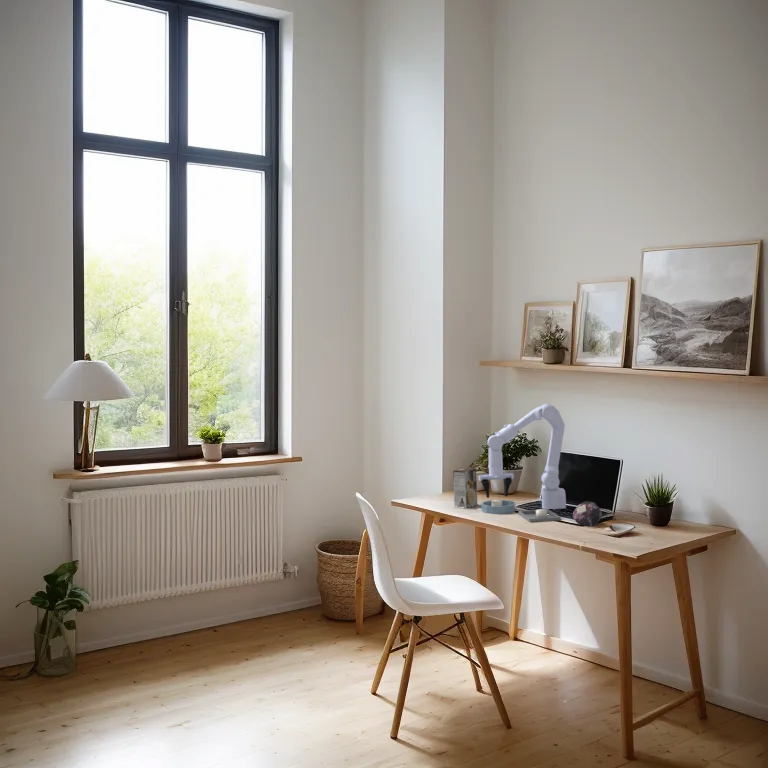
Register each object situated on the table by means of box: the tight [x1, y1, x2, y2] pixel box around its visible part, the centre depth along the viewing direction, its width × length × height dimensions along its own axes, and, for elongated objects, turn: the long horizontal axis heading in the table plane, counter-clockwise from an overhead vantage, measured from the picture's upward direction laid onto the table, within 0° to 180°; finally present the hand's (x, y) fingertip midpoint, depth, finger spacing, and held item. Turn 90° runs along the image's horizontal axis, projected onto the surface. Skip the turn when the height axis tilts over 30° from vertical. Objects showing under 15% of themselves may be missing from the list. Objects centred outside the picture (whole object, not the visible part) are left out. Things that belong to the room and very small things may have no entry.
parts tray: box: [518, 509, 561, 523], centre depth 343 cm, size 12×15×2 cm
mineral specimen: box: [572, 500, 603, 527], centre depth 329 cm, size 10×10×10 cm
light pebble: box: [492, 499, 502, 506], centre depth 361 cm, size 4×4×3 cm
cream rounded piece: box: [535, 508, 547, 518], centre depth 340 cm, size 4×4×3 cm
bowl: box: [480, 499, 517, 515], centre depth 359 cm, size 14×14×4 cm
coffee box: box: [452, 467, 478, 509], centre depth 374 cm, size 9×6×16 cm
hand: (496, 496), depth 361 cm, fingers open, 7 cm apart
